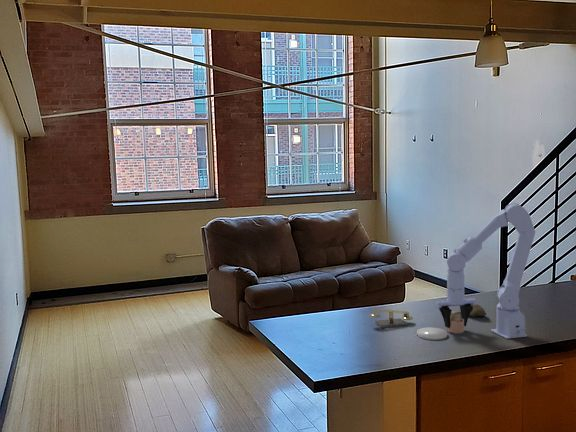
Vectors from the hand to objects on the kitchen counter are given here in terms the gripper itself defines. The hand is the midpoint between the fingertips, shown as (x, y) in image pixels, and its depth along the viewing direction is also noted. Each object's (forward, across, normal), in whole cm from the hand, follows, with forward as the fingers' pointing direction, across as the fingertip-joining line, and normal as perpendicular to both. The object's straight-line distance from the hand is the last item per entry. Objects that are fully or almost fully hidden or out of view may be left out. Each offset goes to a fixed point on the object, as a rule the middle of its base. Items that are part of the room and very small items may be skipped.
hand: (455, 326), depth 204 cm
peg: (+2, 0, 0) cm, 2 cm away
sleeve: (+2, 0, 0) cm, 2 cm away
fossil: (+2, -16, -15) cm, 22 cm away
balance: (+2, +18, -14) cm, 23 cm away
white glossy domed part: (+2, +10, +2) cm, 10 cm away
